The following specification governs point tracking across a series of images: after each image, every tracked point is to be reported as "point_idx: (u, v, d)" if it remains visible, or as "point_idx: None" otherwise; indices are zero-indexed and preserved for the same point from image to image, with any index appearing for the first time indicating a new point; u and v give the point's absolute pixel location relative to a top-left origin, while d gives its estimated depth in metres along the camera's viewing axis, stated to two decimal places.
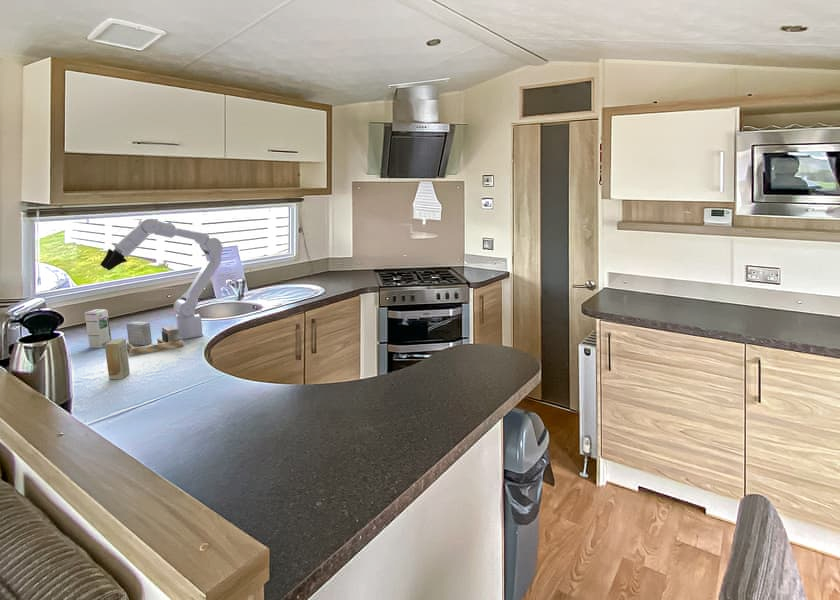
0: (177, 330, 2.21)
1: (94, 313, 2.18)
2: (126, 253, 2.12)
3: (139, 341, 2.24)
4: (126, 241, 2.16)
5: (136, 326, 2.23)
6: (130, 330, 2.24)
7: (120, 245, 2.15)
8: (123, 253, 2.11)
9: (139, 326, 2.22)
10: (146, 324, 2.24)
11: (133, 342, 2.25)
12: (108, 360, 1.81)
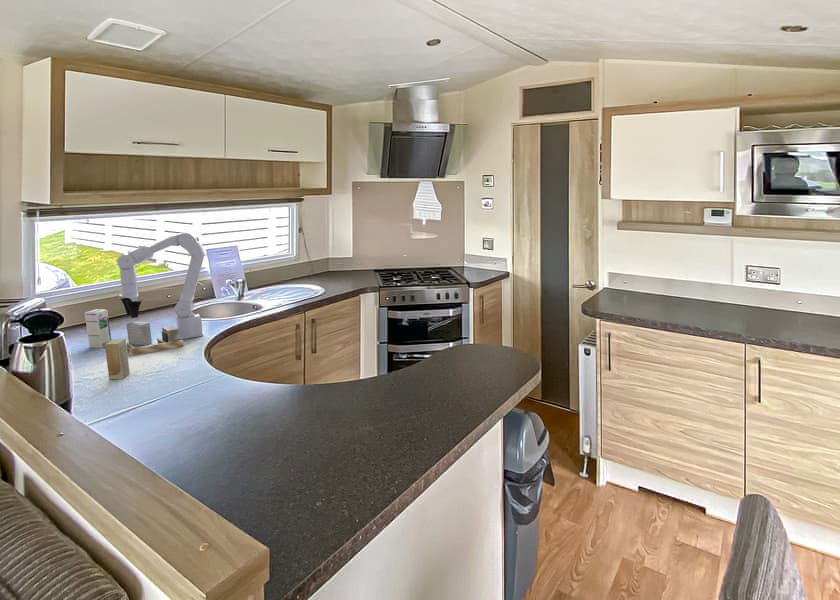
0: (177, 330, 2.21)
1: (94, 313, 2.18)
2: (135, 297, 2.24)
3: (139, 341, 2.24)
4: (125, 287, 2.26)
5: (136, 326, 2.23)
6: (130, 330, 2.24)
7: (125, 293, 2.26)
8: (133, 299, 2.24)
9: (139, 326, 2.22)
10: (146, 324, 2.24)
11: (133, 342, 2.25)
12: (108, 360, 1.81)
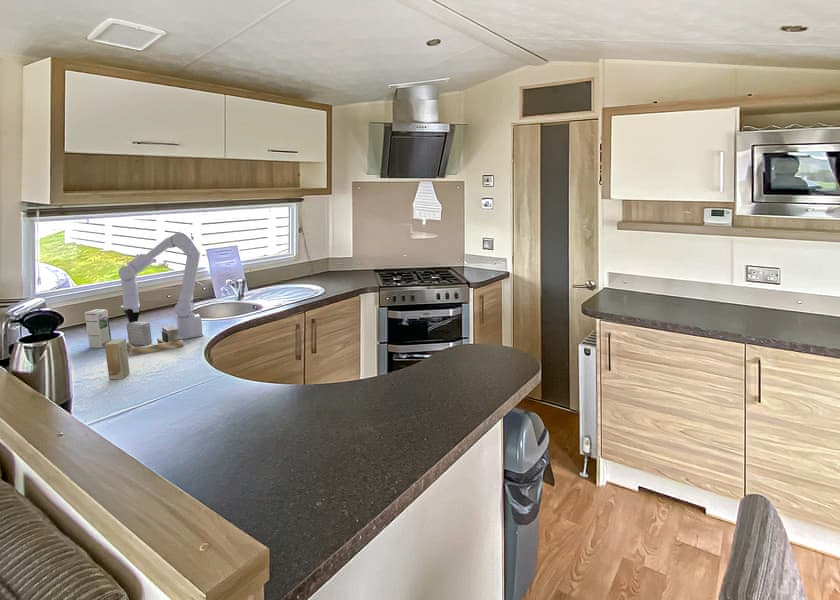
0: (177, 330, 2.21)
1: (94, 313, 2.18)
2: (136, 308, 2.25)
3: (139, 341, 2.24)
4: (127, 298, 2.27)
5: (136, 326, 2.23)
6: (130, 330, 2.24)
7: (126, 304, 2.27)
8: (135, 310, 2.24)
9: (139, 326, 2.22)
10: (146, 324, 2.24)
11: (133, 342, 2.25)
12: (108, 360, 1.81)
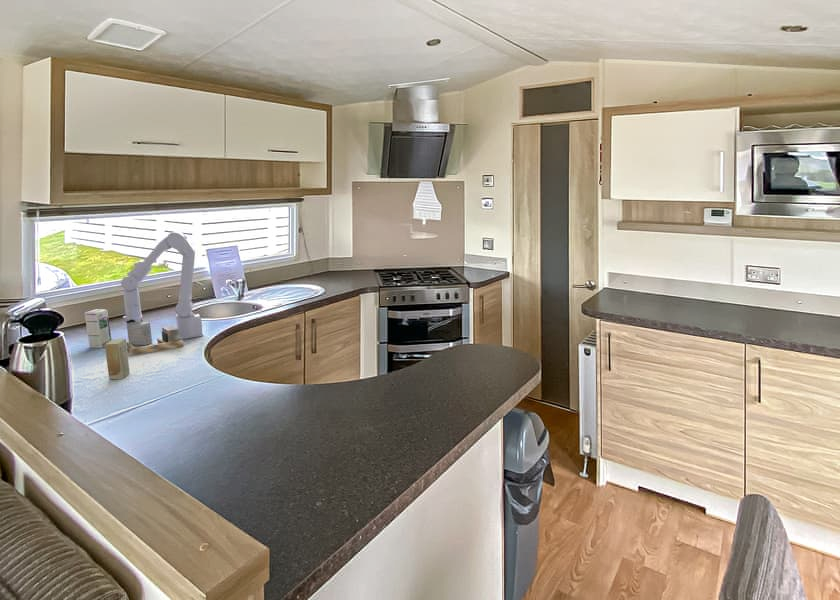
0: (177, 330, 2.21)
1: (94, 313, 2.18)
2: (139, 319, 2.24)
3: (139, 341, 2.23)
4: (129, 309, 2.26)
5: (137, 326, 2.22)
6: (130, 330, 2.24)
7: (128, 315, 2.27)
8: (137, 321, 2.24)
9: (139, 326, 2.22)
10: (146, 324, 2.24)
11: (133, 342, 2.25)
12: (108, 360, 1.81)
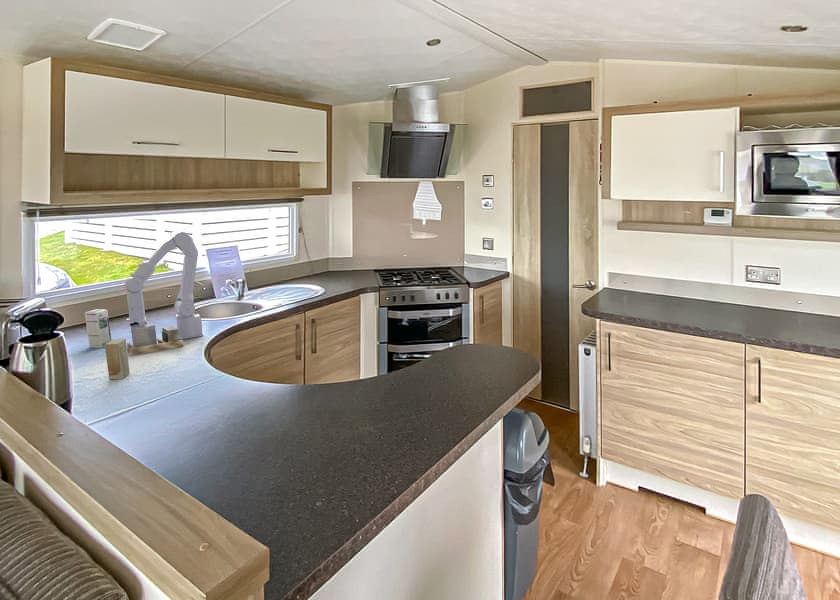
0: (177, 330, 2.21)
1: (94, 313, 2.18)
2: (142, 322, 2.20)
3: (144, 344, 2.19)
4: (133, 311, 2.21)
5: (142, 329, 2.18)
6: (135, 333, 2.19)
7: (132, 317, 2.22)
8: (141, 324, 2.19)
9: (145, 329, 2.18)
10: (151, 327, 2.19)
11: (138, 345, 2.20)
12: (108, 360, 1.81)
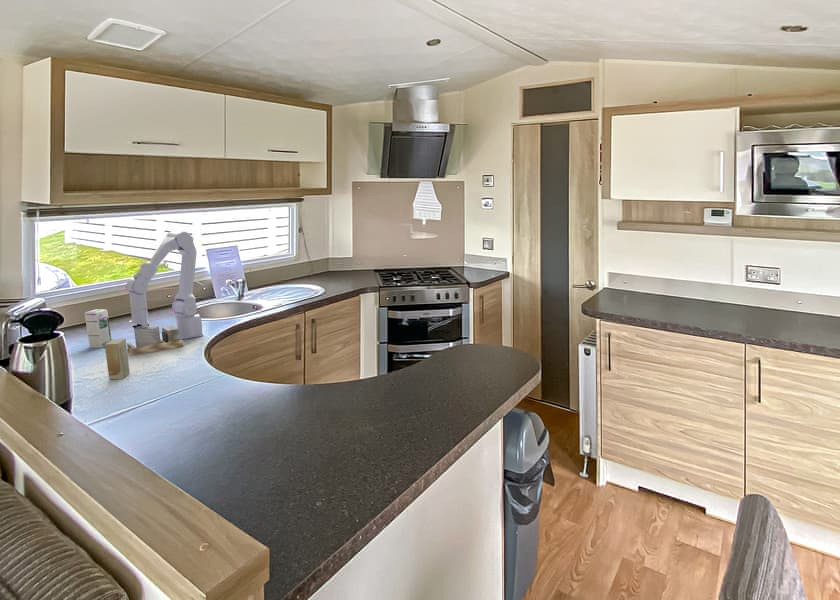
0: (177, 330, 2.21)
1: (94, 313, 2.18)
2: (146, 324, 2.16)
3: None
4: (135, 313, 2.18)
5: (146, 330, 2.15)
6: (138, 335, 2.16)
7: (135, 319, 2.18)
8: (144, 326, 2.15)
9: (149, 330, 2.15)
10: (156, 328, 2.17)
11: None
12: (108, 360, 1.81)
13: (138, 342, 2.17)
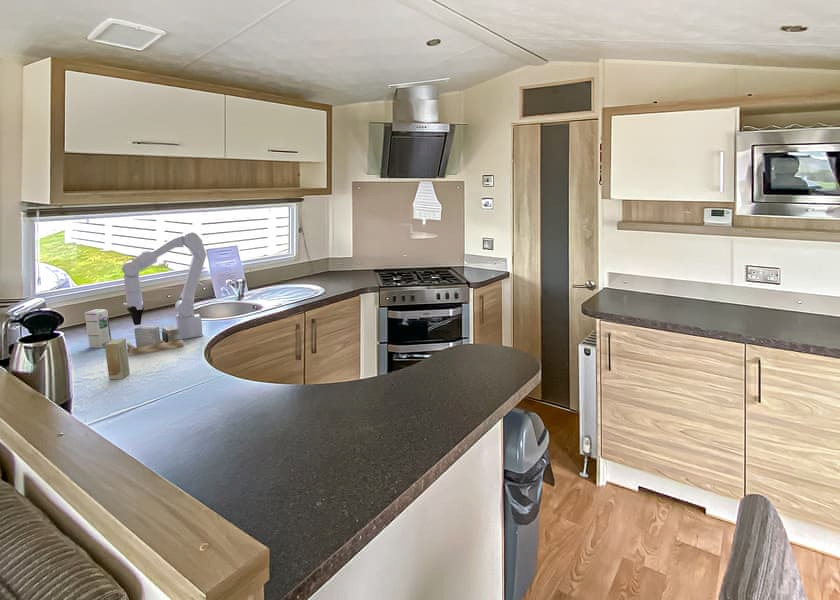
0: (177, 330, 2.21)
1: (94, 313, 2.18)
2: (140, 306, 2.20)
3: None
4: (130, 295, 2.22)
5: (146, 331, 2.15)
6: (139, 335, 2.16)
7: (129, 302, 2.22)
8: (138, 308, 2.20)
9: (149, 330, 2.15)
10: (156, 328, 2.17)
11: None
12: (108, 360, 1.81)
13: (138, 342, 2.17)
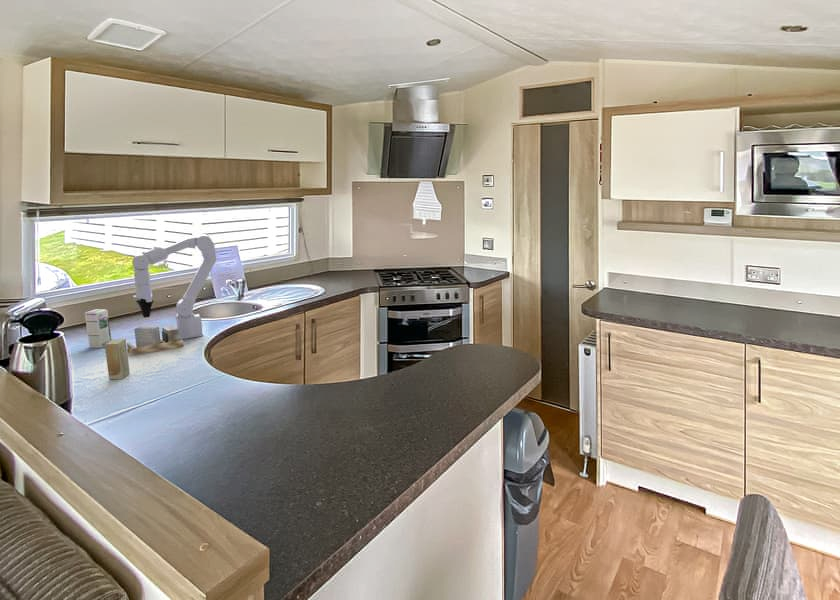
0: (177, 330, 2.21)
1: (94, 313, 2.18)
2: (149, 298, 2.23)
3: None
4: (140, 288, 2.24)
5: (146, 331, 2.15)
6: (139, 335, 2.16)
7: (139, 294, 2.25)
8: (148, 300, 2.22)
9: (149, 330, 2.15)
10: (156, 328, 2.17)
11: None
12: (108, 360, 1.81)
13: (138, 342, 2.17)
